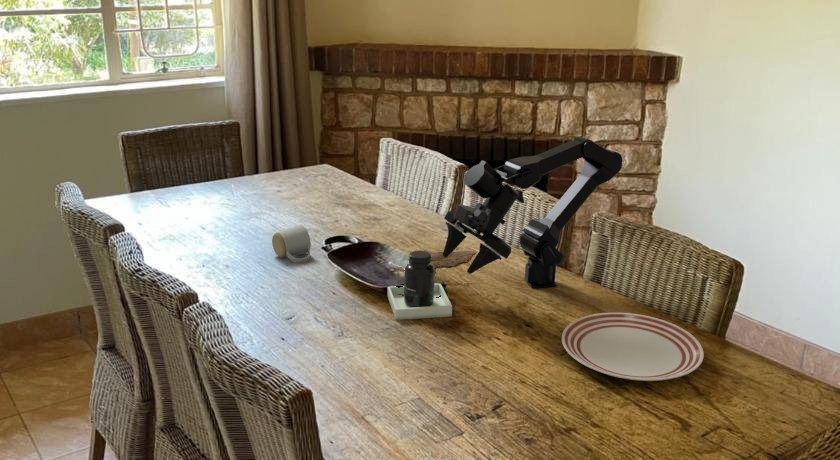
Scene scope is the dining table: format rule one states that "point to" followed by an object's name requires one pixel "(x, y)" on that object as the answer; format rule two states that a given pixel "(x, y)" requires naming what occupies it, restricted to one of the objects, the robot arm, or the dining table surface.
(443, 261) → the wooden fragment
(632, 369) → the dinner plate
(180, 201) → the dining table surface
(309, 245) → the ceramic mug
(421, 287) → the supplement bottle
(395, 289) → the tray
